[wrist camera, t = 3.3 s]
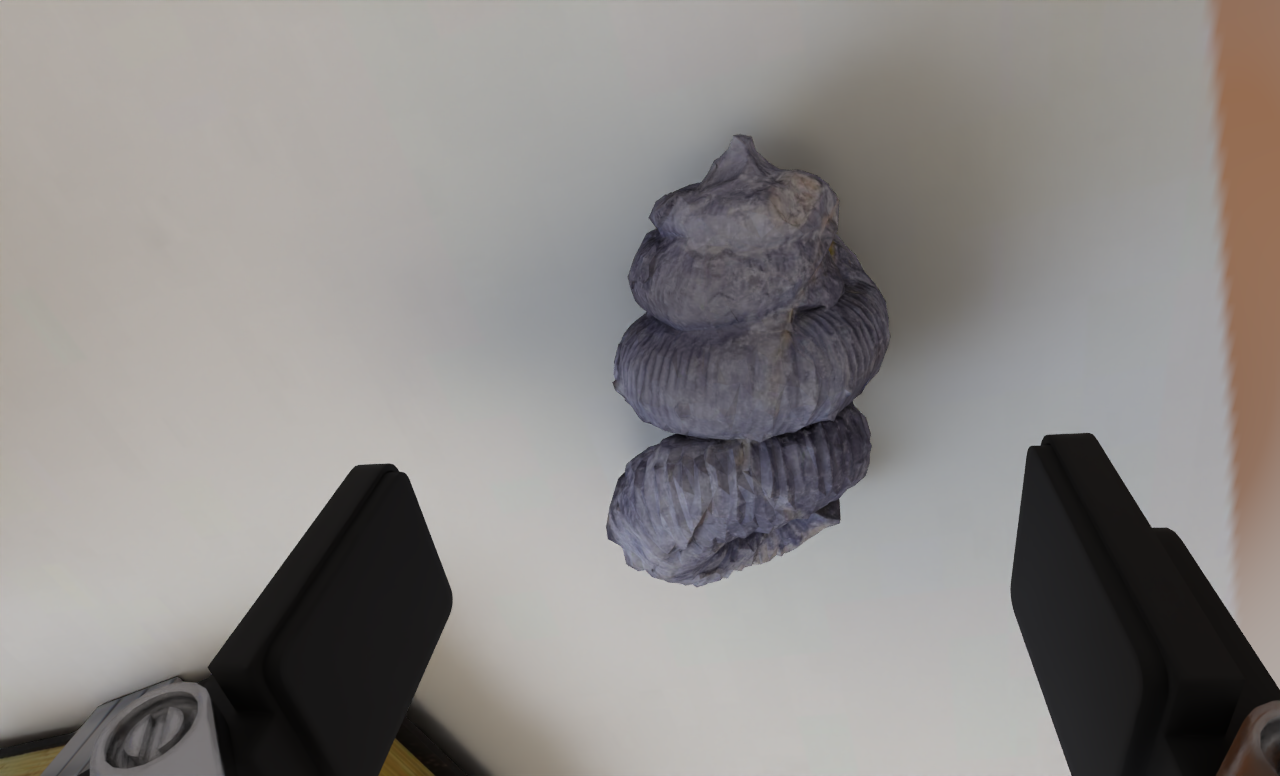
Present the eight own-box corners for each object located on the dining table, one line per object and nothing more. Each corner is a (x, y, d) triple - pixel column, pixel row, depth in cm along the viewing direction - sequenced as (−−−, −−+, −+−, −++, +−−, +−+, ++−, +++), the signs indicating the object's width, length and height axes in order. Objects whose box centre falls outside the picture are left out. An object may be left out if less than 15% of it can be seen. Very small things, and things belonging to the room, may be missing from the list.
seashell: (762, 487, 21) (756, 95, 16) (915, 609, 17) (969, 127, 12) (584, 566, 19) (514, 142, 14) (708, 728, 15) (670, 201, 10)
